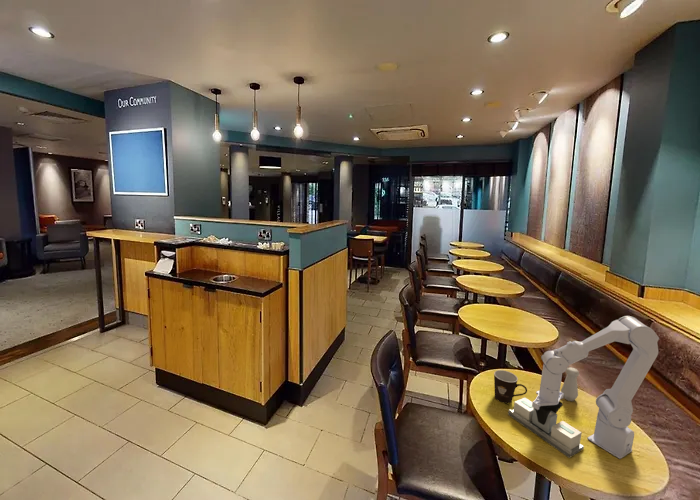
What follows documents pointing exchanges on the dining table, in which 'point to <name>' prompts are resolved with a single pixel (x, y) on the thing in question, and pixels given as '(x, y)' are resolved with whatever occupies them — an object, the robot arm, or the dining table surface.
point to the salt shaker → (570, 384)
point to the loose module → (549, 422)
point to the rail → (545, 435)
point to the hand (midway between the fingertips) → (545, 420)
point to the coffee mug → (506, 386)
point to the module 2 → (566, 435)
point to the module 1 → (524, 408)
